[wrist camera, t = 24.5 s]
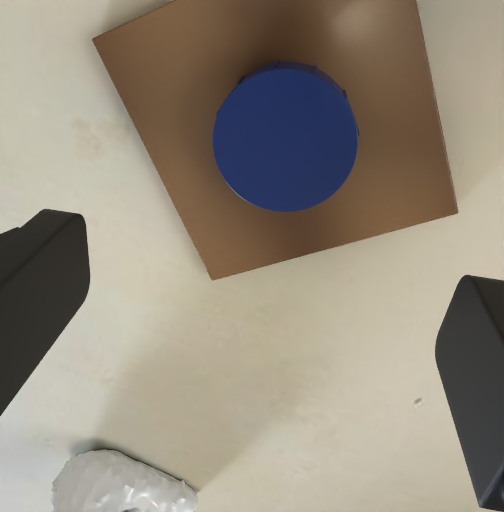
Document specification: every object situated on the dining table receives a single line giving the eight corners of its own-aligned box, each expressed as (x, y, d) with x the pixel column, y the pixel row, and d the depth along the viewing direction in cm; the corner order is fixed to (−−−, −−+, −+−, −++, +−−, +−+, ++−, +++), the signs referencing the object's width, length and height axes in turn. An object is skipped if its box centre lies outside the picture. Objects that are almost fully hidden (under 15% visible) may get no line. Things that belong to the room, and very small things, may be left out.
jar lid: (194, 144, 20) (185, 157, 19) (274, 29, 18) (270, 33, 16) (296, 219, 22) (294, 237, 20) (384, 121, 19) (390, 134, 18)
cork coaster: (393, -101, 16) (395, -104, 15) (455, 208, 21) (458, 213, 21) (96, 37, 19) (90, 39, 19) (213, 274, 24) (211, 281, 24)
